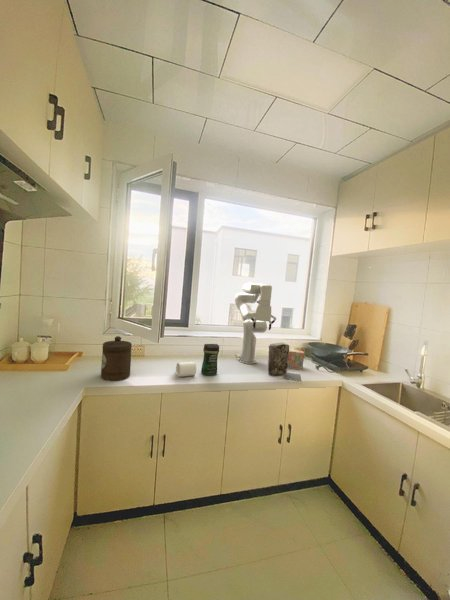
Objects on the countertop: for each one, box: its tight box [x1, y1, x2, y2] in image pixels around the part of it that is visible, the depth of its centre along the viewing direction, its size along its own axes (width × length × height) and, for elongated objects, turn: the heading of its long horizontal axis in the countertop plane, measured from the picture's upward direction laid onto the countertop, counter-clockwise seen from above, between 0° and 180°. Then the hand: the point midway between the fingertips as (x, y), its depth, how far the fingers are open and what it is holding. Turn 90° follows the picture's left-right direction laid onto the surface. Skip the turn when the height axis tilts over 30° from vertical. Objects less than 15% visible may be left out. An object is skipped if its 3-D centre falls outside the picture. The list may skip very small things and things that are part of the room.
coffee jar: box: [200, 343, 220, 376], centre depth 157 cm, size 10×8×19 cm
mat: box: [282, 371, 302, 382], centre depth 166 cm, size 11×12×1 cm
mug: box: [175, 361, 197, 378], centre depth 153 cm, size 12×10×8 cm
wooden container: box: [100, 335, 132, 382], centre depth 140 cm, size 15×15×22 cm
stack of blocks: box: [287, 348, 305, 370], centre depth 187 cm, size 21×6×12 cm, turn 86°
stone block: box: [267, 342, 290, 377], centre depth 167 cm, size 13×7×20 cm, turn 128°
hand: (261, 329), depth 169 cm, fingers open, 9 cm apart
